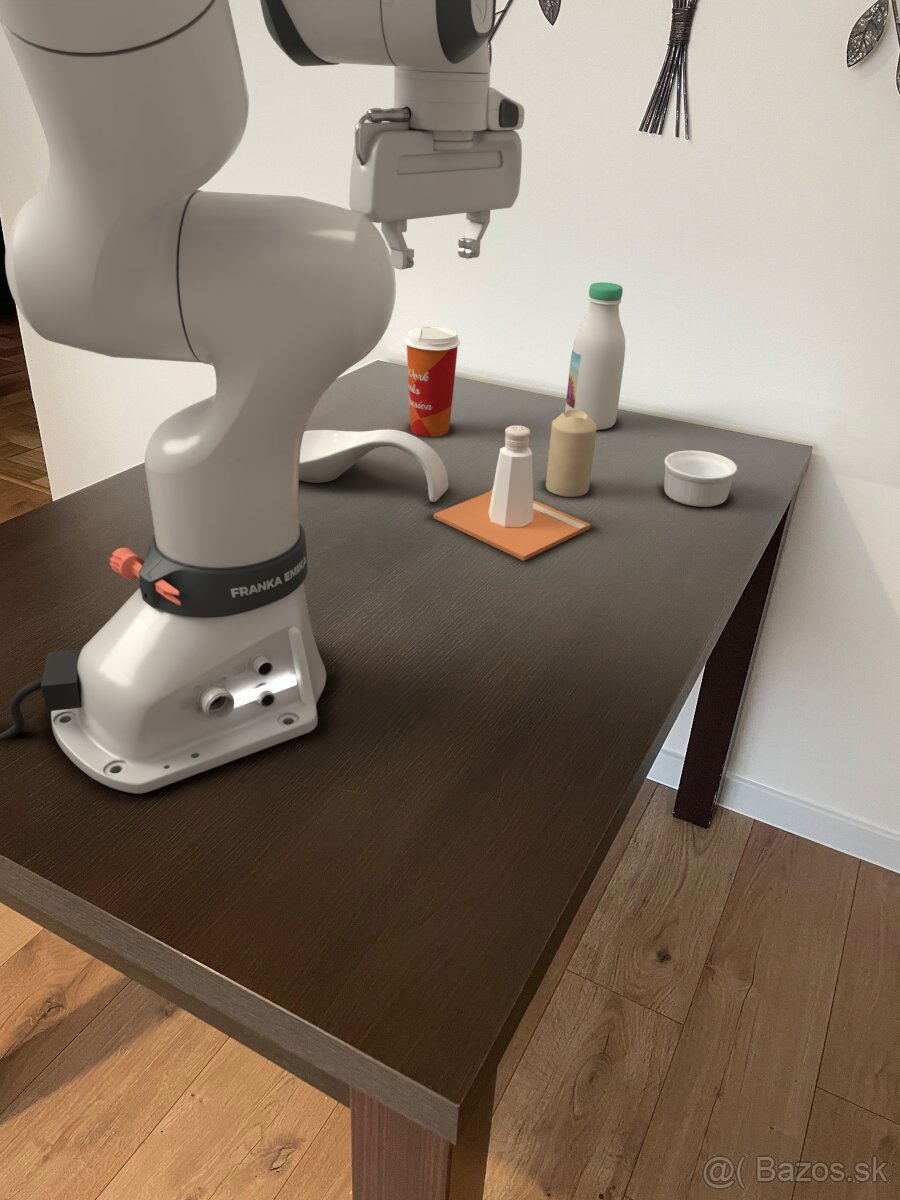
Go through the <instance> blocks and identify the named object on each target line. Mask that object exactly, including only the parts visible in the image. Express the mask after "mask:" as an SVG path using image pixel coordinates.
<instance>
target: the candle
mask: <svg viewBox="0 0 900 1200" xmlns="http://www.w3.org/2000/svg"><path fill="white" fill-rule="evenodd" d="M597 431H598V430H597V425H596V424H595V422H594V421H593V420H592V419H591V418H590V417H589V416H588V415H587V414H586V413H585V412H583V411H582V410H568V411H567V412H565V411H562V413H560V414H559V415H558V416H557V417H556V418H554V419H553V420H552V421H551V430H550V437H549V438H550V439H549V448H548V457H547V458H548V459H547V467H546V468H547V469H546V478H545V488H546V490H547V491H548V492H549V493H551V494H554V495H557V496H561V497H567V498H569V497H571V498H575V497H581V496H584V495H586V494H587V493H588V492H589V489H590V485H591V476H592V469H593V460H594V452H595V447H596V446H595V445H596V438H597Z"/></svg>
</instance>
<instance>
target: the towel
mask: <svg viewBox="0 0 900 1200" xmlns="http://www.w3.org/2000/svg"><path fill="white" fill-rule="evenodd" d="M492 491H493V488H492V489H490V491H487V492H485V493H482V494H480V495H477V496H475V497H472V498H469V499H468V500H465V501H462V502H459V503H458V504H454V505H452V506H450V507H448V508H445V509H442V510H440V511H437V512H435V513H433V519H434V520H437V521H439V522H441V523H442V524H445V525H447V526H449V527H451V528H453V529H455V530H458V531H459V532H462V533H464V534H467V535H468V536H470V537H473V538H474V539H477V540H479V541H481V542H483V543H485V544H487V545H489V546H491V547H493V548H496V549H497V550H500V551H502V552H504V553H506V554H508V555H510V556H513V557H515V558H516V559H519V560H520V561H523V562H525V561H527V560H528V559H531V558H533V557H535V556H537V555H539V554H541V553H544V552H545V551H547V550H549V549H551V548H553V547H555V546H558V545H559V544H562V543H563V542H566V541H569V540H570V539H572V538H573V537H577V536H578V535H580V534H582V533H584V532H586V531H589V530H590V529H591V527H592V524H591V523H589V522H587V521H584V520H581V519H580V518H577V517H575V516H572V515H570V514H567V513H565V512H562V511H560V510H558V509H555V508H553V507H551V506H548V505H546V504H544V503H542V502H539V501H536V500H534V499H533V522H531V523H530V524H528V525H526V526H524V527H522V528H515V527H502V526H500V525H497V524H495V523H493V522H491V521H490V517H489V507H490V502H491V496H492Z"/></svg>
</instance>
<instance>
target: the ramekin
mask: <svg viewBox="0 0 900 1200" xmlns="http://www.w3.org/2000/svg"><path fill="white" fill-rule="evenodd" d="M737 471H738V465H737V464H736V463H735V462H734V461H733V460H731V459H730V458H728V457H725V456H724V455H721V454H718V453H715V452H710V451H706V450H705V451H704V450H679V451H675V452H672V453H670V454H668V455H667V456H665V458H664V480H663V483H664V484H663V489H664V493H665V494H666V496H668V497H669V498H670V499H671V500H673V501H674V502H677V503H680V504H681V505H686V506H690V507H699V508H710V507H715V506H718V505H721V504H723V503H725V502H726V501H727V499H728V497H729V494H730V491H731V487H732V483H733V480H734V478H735V475H736V474H737Z"/></svg>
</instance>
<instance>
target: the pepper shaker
mask: <svg viewBox="0 0 900 1200" xmlns="http://www.w3.org/2000/svg"><path fill="white" fill-rule="evenodd" d="M504 433H505V437H504V443H505V444H504V446H503V447H500V448H499V453H498V457H497V464H496V469H495V474H494V479H493V480H494V481H493V485H492V489H493V491H492V496H491V502H490V507H489V517H490V521H491V522H493V523H495V524H497V525H500V526H502V527H515V528H522V527H524V526H526V525H528V524H530V523H531V522H533V500H534V479H533V478H534V475H533V473H534V472H533V469H534V468H533V452H532V449H531V448H530V447H529V443H530V436H531V430H530V429H529V428H528V427H526V426H524V425H516V424H515V425H510V426H507V427H506V428H505V430H504Z"/></svg>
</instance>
